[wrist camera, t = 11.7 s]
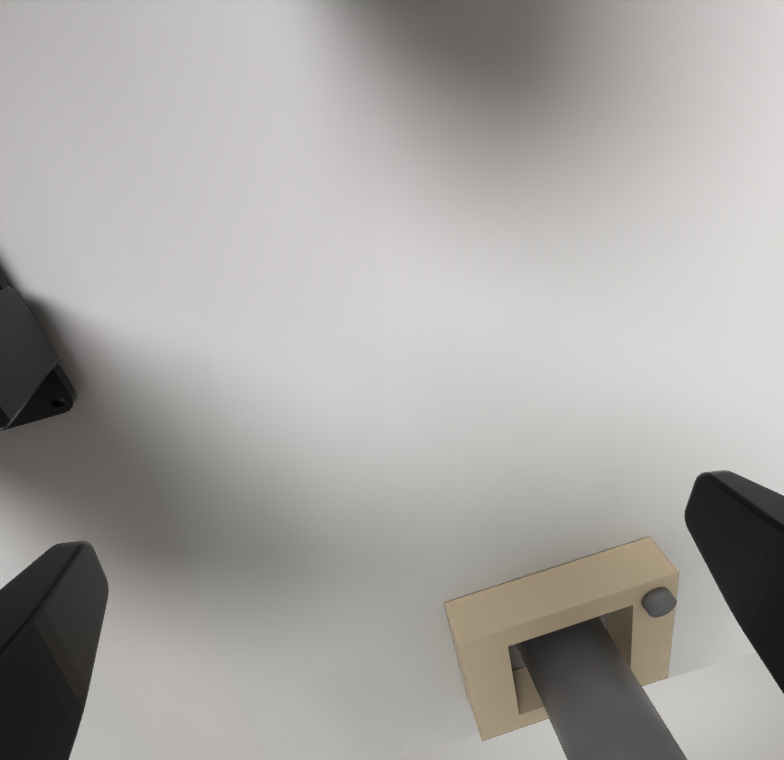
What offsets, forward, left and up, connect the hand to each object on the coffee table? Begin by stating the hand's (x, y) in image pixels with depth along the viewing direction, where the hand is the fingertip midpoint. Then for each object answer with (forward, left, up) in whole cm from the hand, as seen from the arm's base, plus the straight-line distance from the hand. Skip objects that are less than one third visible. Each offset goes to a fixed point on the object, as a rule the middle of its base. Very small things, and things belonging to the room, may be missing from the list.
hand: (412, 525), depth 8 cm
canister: (+7, -24, -13) cm, 28 cm away
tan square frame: (+7, -24, -13) cm, 28 cm away
